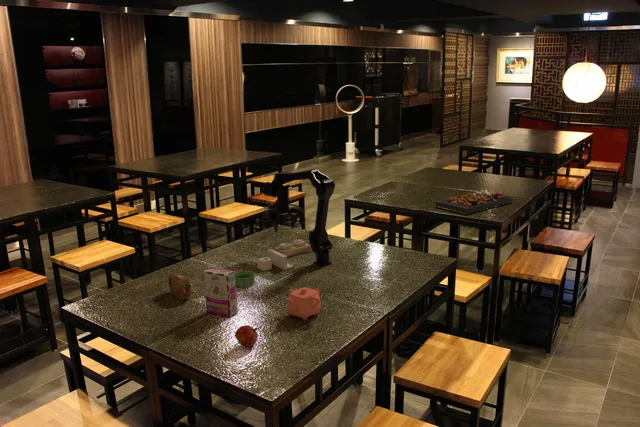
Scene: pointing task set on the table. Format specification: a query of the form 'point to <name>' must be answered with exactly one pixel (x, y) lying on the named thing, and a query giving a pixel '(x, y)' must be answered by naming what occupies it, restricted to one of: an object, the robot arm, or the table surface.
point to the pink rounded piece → (304, 302)
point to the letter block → (264, 264)
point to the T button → (299, 243)
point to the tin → (179, 286)
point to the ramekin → (244, 278)
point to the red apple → (246, 336)
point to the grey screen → (278, 259)
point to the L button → (285, 246)
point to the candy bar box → (220, 292)
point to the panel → (294, 250)
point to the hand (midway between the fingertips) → (284, 230)
